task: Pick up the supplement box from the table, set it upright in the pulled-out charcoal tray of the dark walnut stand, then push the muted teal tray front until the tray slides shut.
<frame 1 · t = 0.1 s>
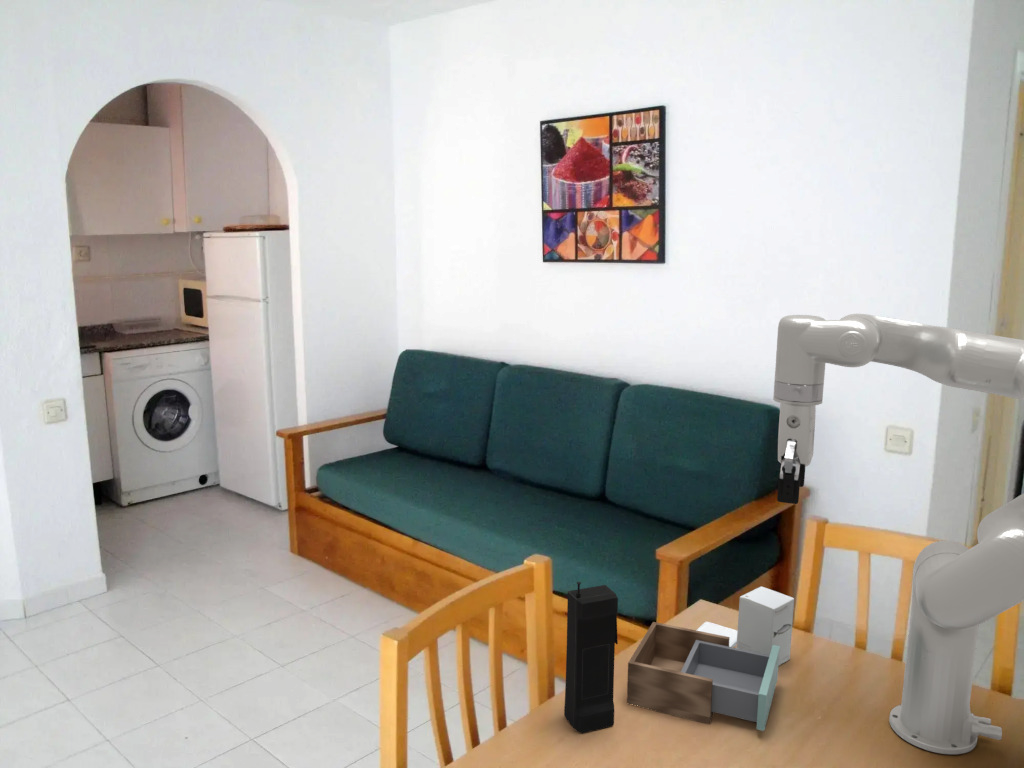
hand: (790, 493, 135), 37 cm above the table, tool pointing down, fingers open, 9 cm apart
external hard drive: (711, 646, 160), on the table
supplement box: (762, 660, 154), on the table
drawer: (728, 676, 139), point 4 cm above the table, slide at 7.0 cm
portable radio: (591, 720, 135), on the table
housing: (678, 689, 143), on the table
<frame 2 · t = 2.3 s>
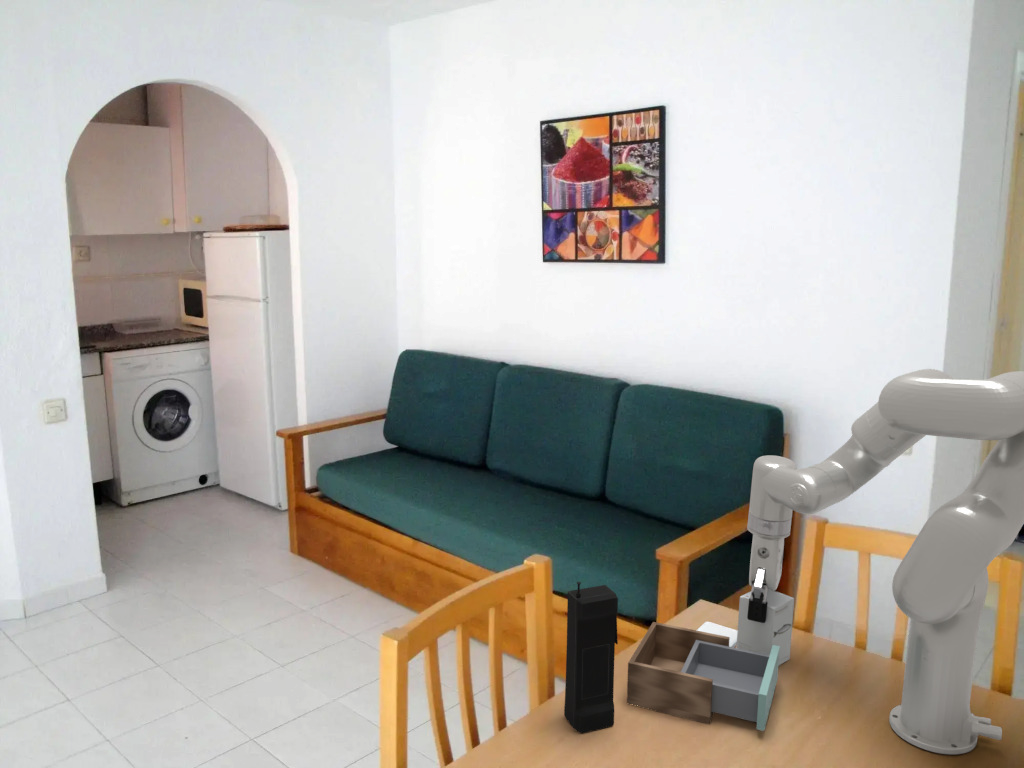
hand: (760, 609, 153), 10 cm above the table, tool pointing down, fingers open, 9 cm apart
supplement box: (762, 660, 154), on the table, touching gripper
everything else where it was.
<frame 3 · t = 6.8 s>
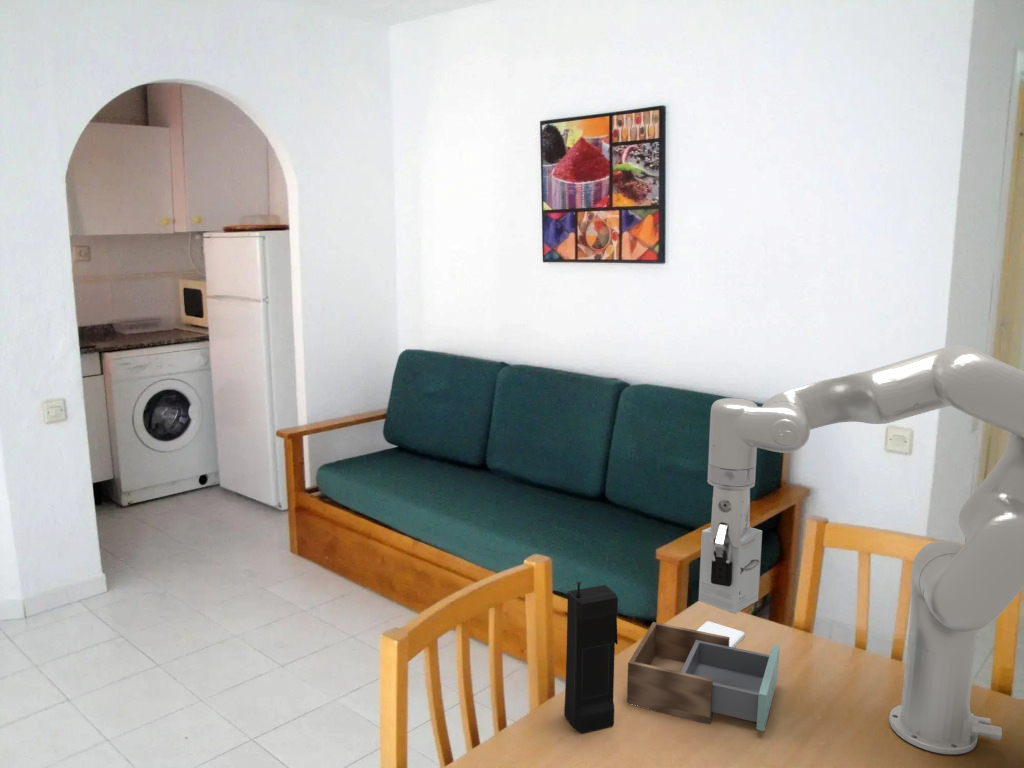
hand: (726, 573, 136), 23 cm above the table, tool pointing down, fingers closed on supplement box, 9 cm apart
supplement box: (728, 602, 137), point 18 cm above the table, touching gripper
everything else where it was.
when the fingers open (7 cm above the table, at t = 10.4 s): supplement box stays where it is, resting on drawer.
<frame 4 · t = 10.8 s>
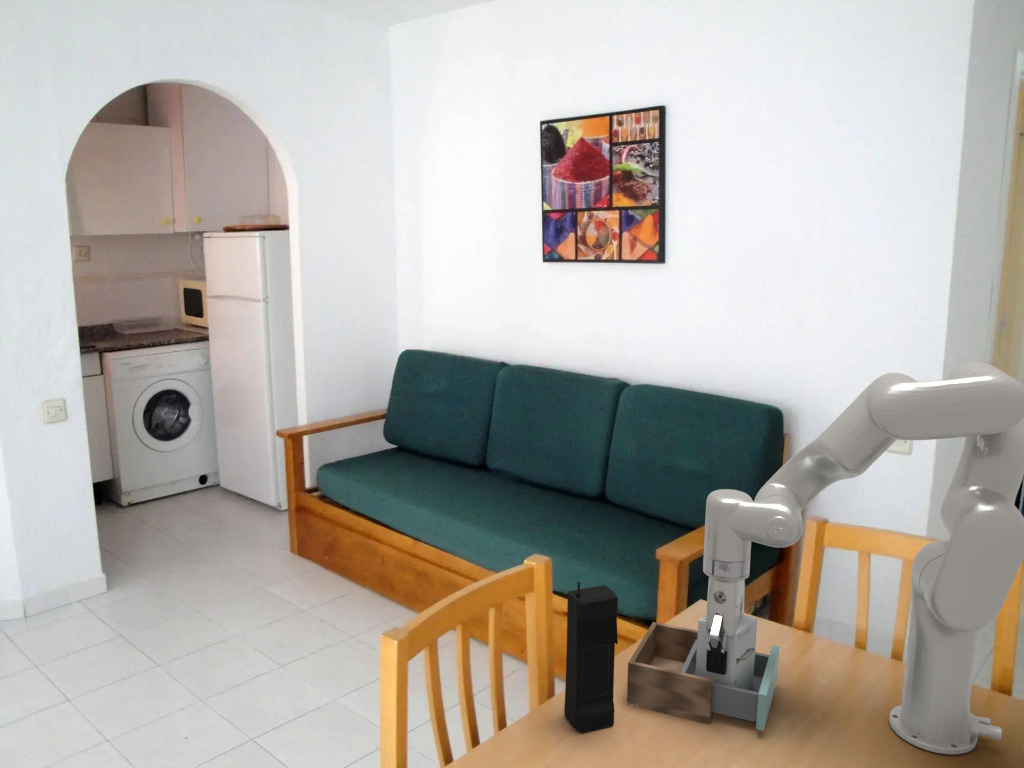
hand: (721, 658, 139), 8 cm above the table, tool pointing down, fingers open, 9 cm apart
supplement box: (723, 688, 140), point 2 cm above the table, touching drawer, gripper
drawer: (728, 676, 139), point 5 cm above the table, slide at 7.0 cm, touching supplement box
everything else where it was.
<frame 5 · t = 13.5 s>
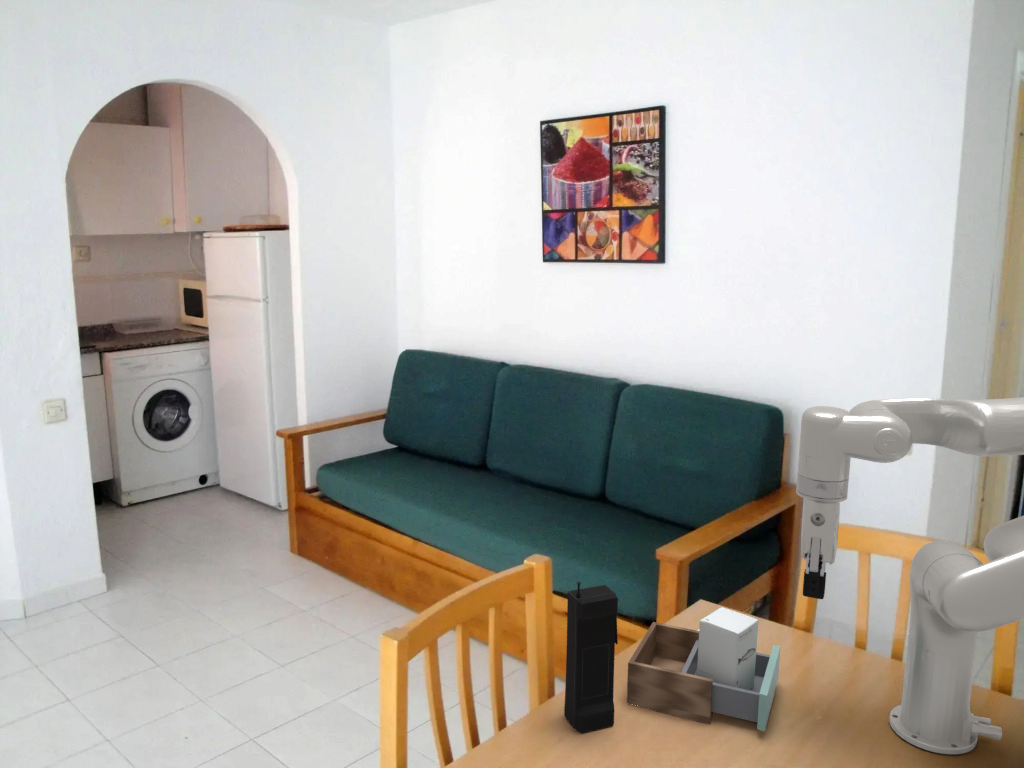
hand: (813, 595, 131), 22 cm above the table, tool pointing down, fingers closed
supplement box: (725, 688, 140), point 2 cm above the table, touching drawer
everything else where it was.
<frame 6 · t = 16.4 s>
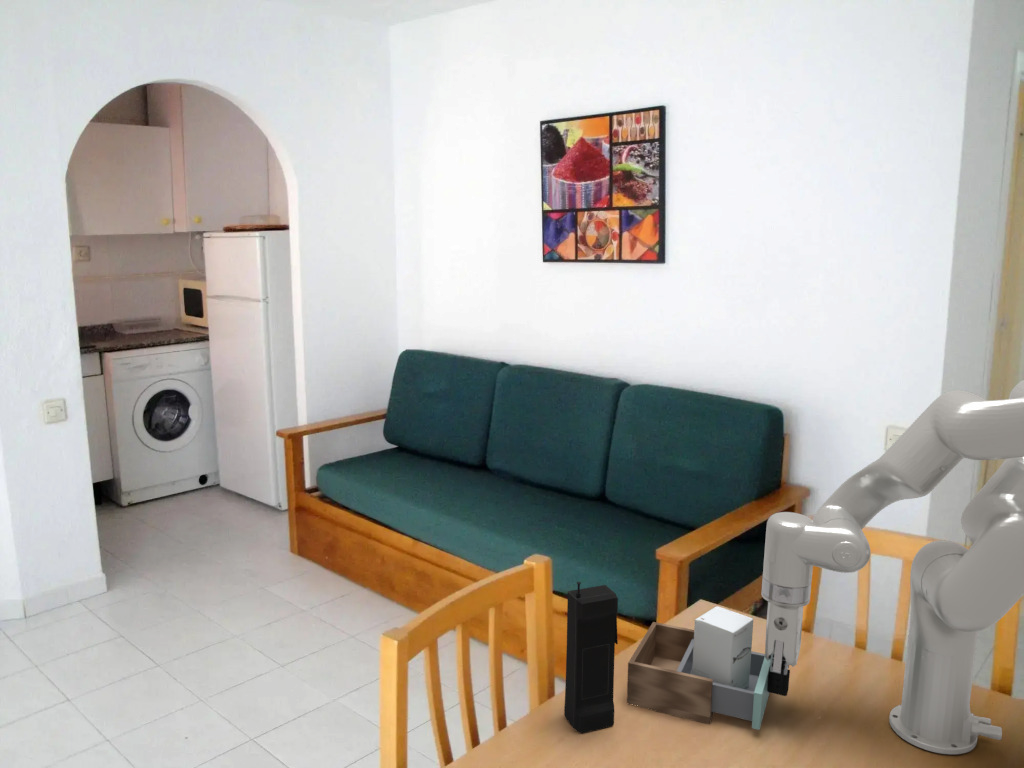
hand: (777, 691, 136), 4 cm above the table, tool pointing down, fingers closed
drawer: (724, 675, 139), point 5 cm above the table, slide at 6.3 cm, touching gripper, supplement box
everything else where it was.
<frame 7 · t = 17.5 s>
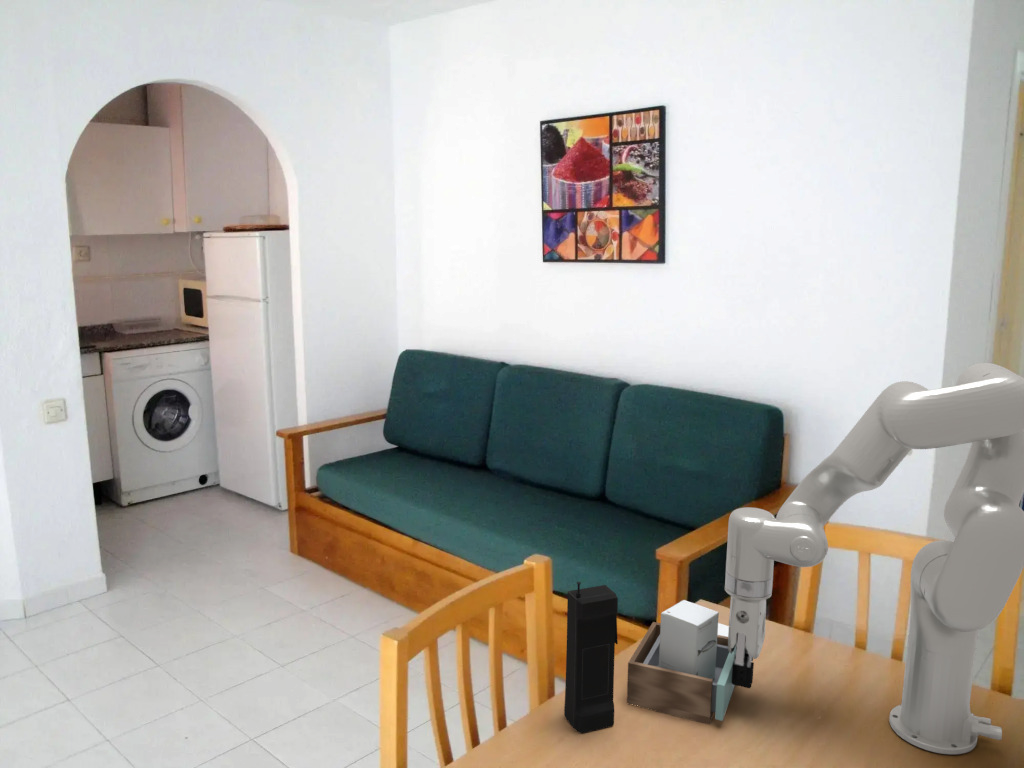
hand: (742, 684, 138), 4 cm above the table, tool pointing down, fingers closed
supplement box: (686, 679, 142), point 2 cm above the table, touching drawer
drawer: (690, 668, 142), point 5 cm above the table, slide at 0.5 cm, touching supplement box
everything else where it was.
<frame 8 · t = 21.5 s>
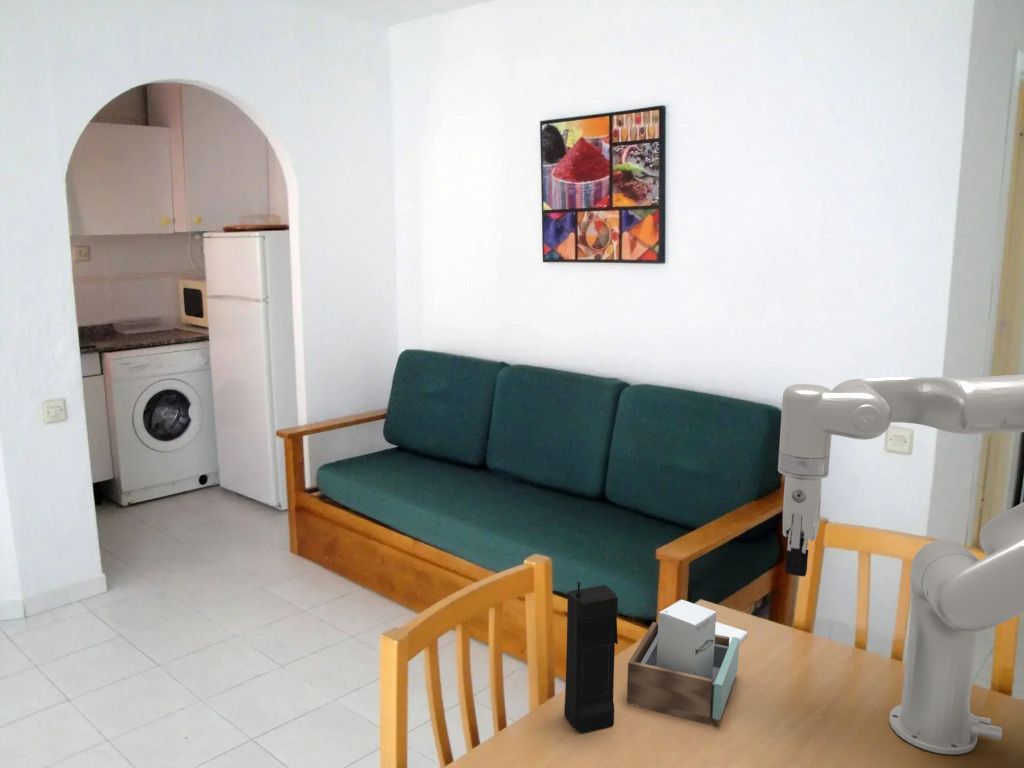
hand: (795, 573, 131), 25 cm above the table, tool pointing down, fingers closed
drawer: (688, 667, 142), point 5 cm above the table, slide at 0.1 cm, touching supplement box
everything else where it was.
at the end: drawer slide at 0.1 cm; supplement box inside the target area on the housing (0.9 cm from its centre), point 2.2 cm above the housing's base; supplement box tilted 0° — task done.
